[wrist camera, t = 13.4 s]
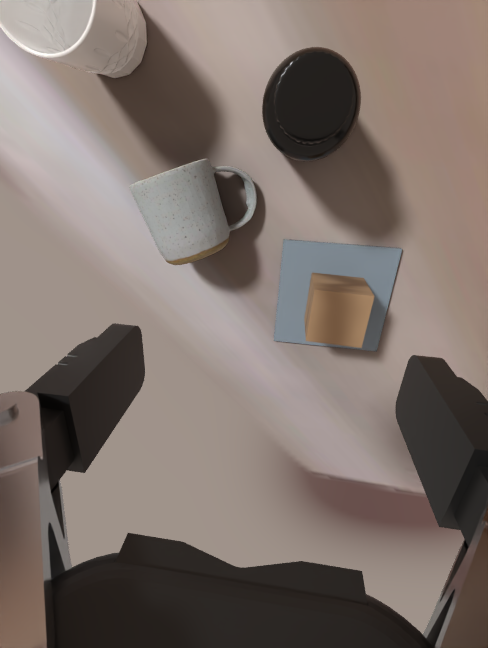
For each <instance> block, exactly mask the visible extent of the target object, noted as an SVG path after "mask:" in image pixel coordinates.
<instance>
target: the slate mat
mask: <svg viewBox="0 0 488 648" xmlns="http://www.w3.org/2000/svg"><path fill="white" fill-rule="evenodd" d="M401 252H402V249H401V248H391V247H378V246H364V245H351V244H338V243H325V242H312V241H298V240H285V239H284V243H283V253H282V263H281V273H280V283H279V294H278V304H277V314H276V324H275V334H274V341H281V342H291V343H301V344H310V345H320V346H329V347H339V348H349V349H358V350H368V351H377V348H378V344H379V340H380V336H381V332H382V328H383V324H384V320H385V316H386V312H387V308H388V304H389V300H390V296H391V292H392V288H393V284H394V280H395V276H396V272H397V268H398V264H399V260H400V256H401ZM312 273H322V274H331V275H341V276H350V277H360V278H364V279H365V281H366V283H367V284H368V286H369V288H370V289H371V291H372V293H373V294H374V300H373V304H372V308H371V312H370V316H369V320H368V324H367V328H366V332H365V336H364V340H363V344H362V348H358V347H350V346H342V345H334V344H325V343H317V342H309V341H306V336H305V322H304V317H305V311H306V305H307V299H308V292H309V286H310V280H311V274H312Z"/></svg>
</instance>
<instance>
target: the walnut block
mask: <svg viewBox="0 0 488 648" xmlns="http://www.w3.org/2000/svg"><path fill="white" fill-rule="evenodd" d="M373 300H374V294H373V293H372V291H371V289H370V288H369V286H368V284H367V283H366V281H365V279H364V278H360V277H350V276H341V275H331V274H322V273H312V274H311V280H310V286H309V292H308V299H307V305H306V311H305V317H304V322H305V336H306V341H309V342H317V343H325V344H334V345H342V346H350V347H358V348H362V344H363V340H364V336H365V332H366V328H367V324H368V320H369V316H370V312H371V308H372V304H373Z"/></svg>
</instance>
